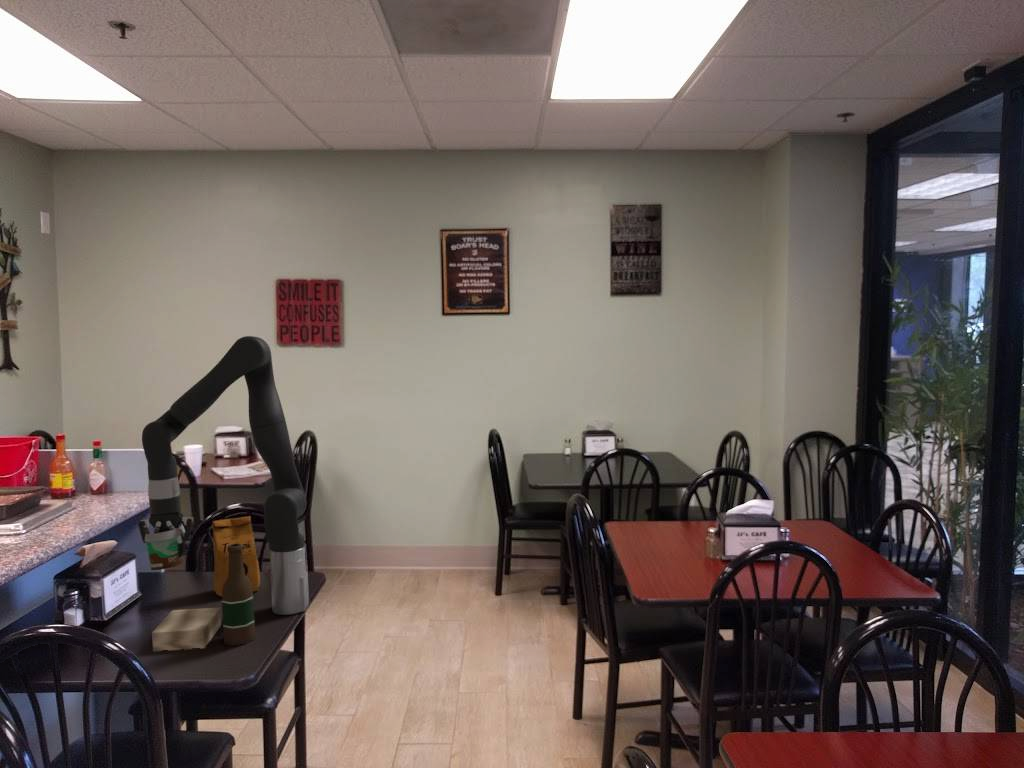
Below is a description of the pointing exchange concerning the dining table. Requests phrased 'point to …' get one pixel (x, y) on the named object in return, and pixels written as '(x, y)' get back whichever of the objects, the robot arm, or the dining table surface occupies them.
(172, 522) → the robot arm
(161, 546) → the food container
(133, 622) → the dining table surface
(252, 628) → the beer bottle
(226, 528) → the coffee package
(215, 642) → the dining table surface
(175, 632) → the birch block
